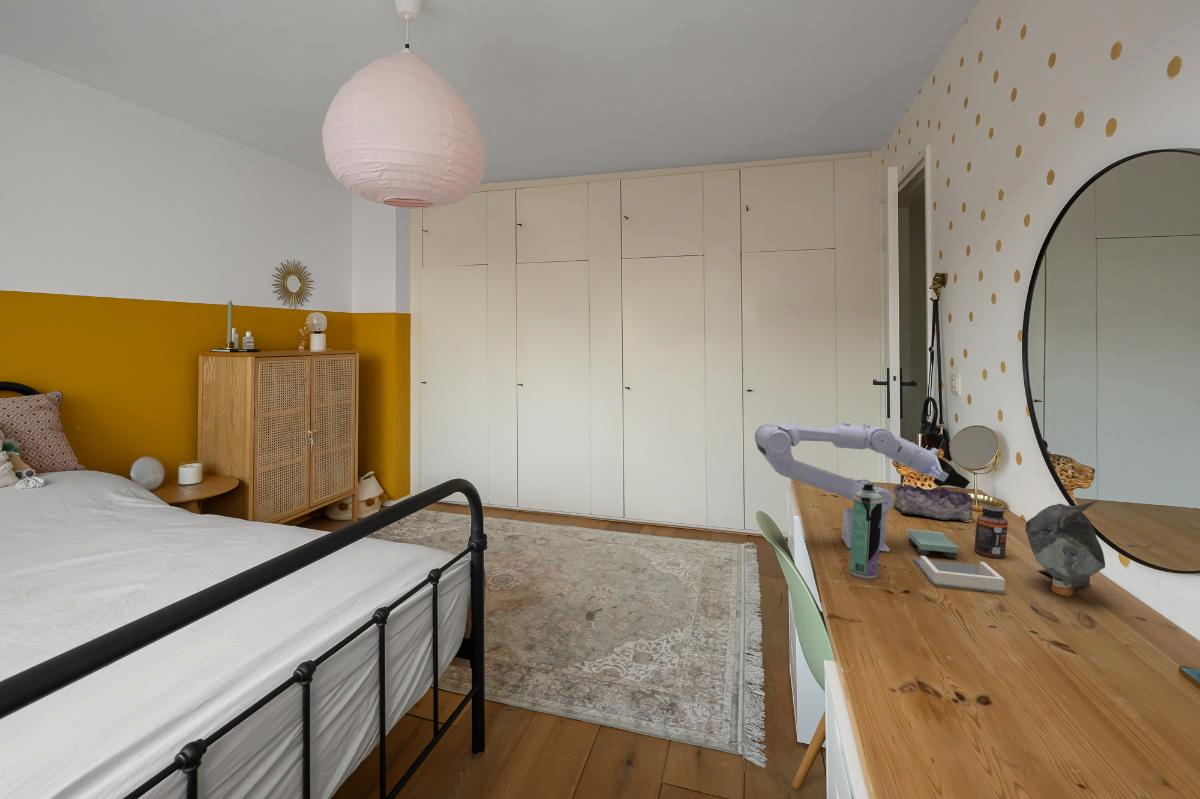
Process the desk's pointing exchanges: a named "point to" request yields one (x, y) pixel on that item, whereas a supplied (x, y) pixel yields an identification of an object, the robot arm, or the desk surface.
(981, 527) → the supplement bottle
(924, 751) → the desk surface
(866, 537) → the spray can
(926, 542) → the mint green block
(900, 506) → the geode
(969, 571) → the tray
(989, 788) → the desk surface
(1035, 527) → the faceted stone sculpture
